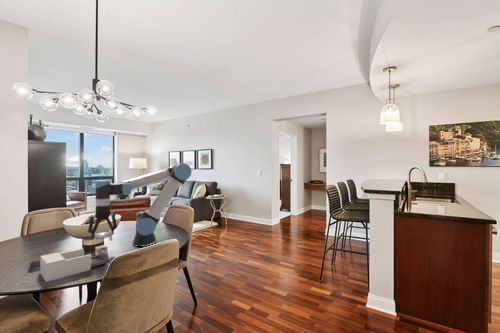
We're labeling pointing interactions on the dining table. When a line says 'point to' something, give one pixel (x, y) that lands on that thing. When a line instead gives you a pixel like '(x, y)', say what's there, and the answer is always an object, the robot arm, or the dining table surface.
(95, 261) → the tray
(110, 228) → the robot arm
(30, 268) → the smartphone
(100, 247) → the oak block
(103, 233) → the shiny silver disc
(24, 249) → the dining table surface
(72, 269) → the white drawer housing
